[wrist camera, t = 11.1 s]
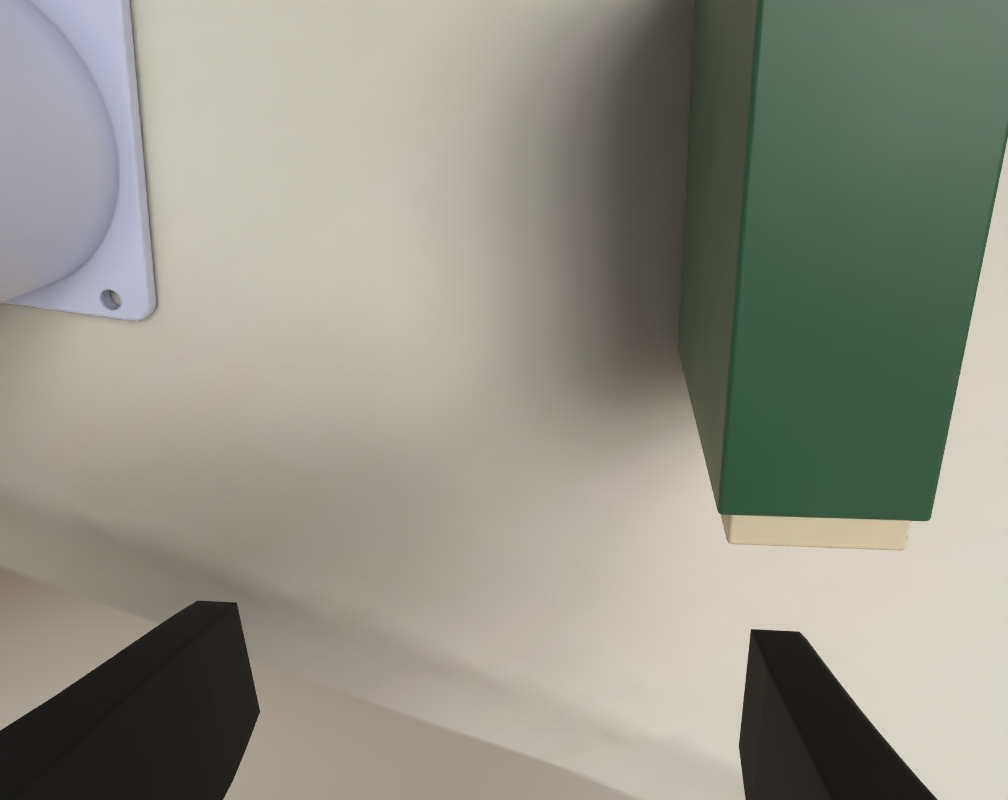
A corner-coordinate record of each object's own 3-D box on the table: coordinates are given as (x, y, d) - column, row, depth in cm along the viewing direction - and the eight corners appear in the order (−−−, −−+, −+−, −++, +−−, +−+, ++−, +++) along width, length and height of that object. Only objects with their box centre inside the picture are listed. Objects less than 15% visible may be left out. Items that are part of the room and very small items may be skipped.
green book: (676, 374, 18) (715, 550, 12) (697, -53, 15) (769, -162, 8) (805, 375, 18) (925, 558, 11) (858, -63, 15) (1076, -189, 8)
